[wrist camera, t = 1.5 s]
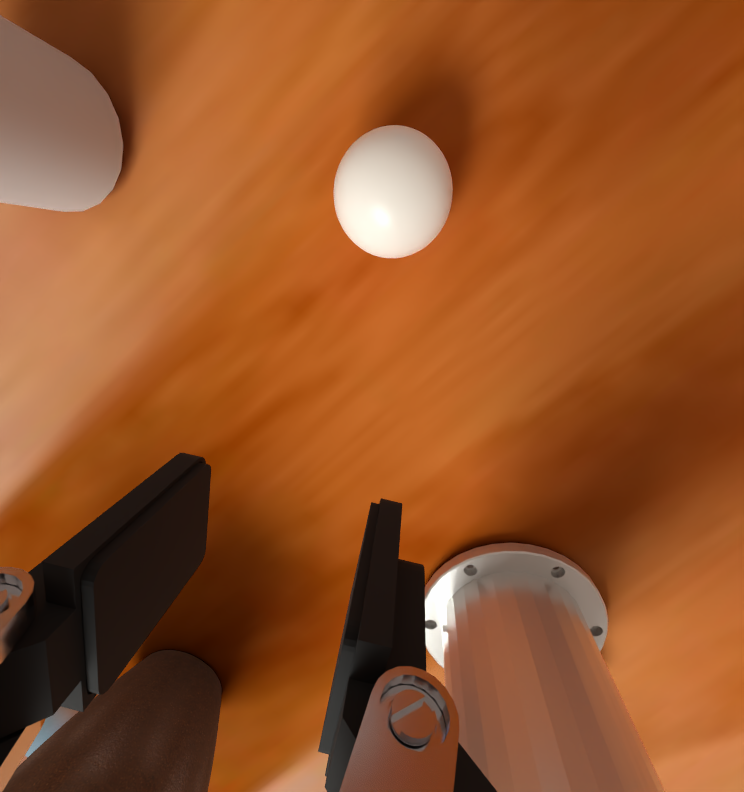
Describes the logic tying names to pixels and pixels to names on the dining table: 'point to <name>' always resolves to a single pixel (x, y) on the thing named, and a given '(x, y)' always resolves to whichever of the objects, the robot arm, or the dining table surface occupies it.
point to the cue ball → (393, 191)
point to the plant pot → (135, 734)
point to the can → (53, 127)
